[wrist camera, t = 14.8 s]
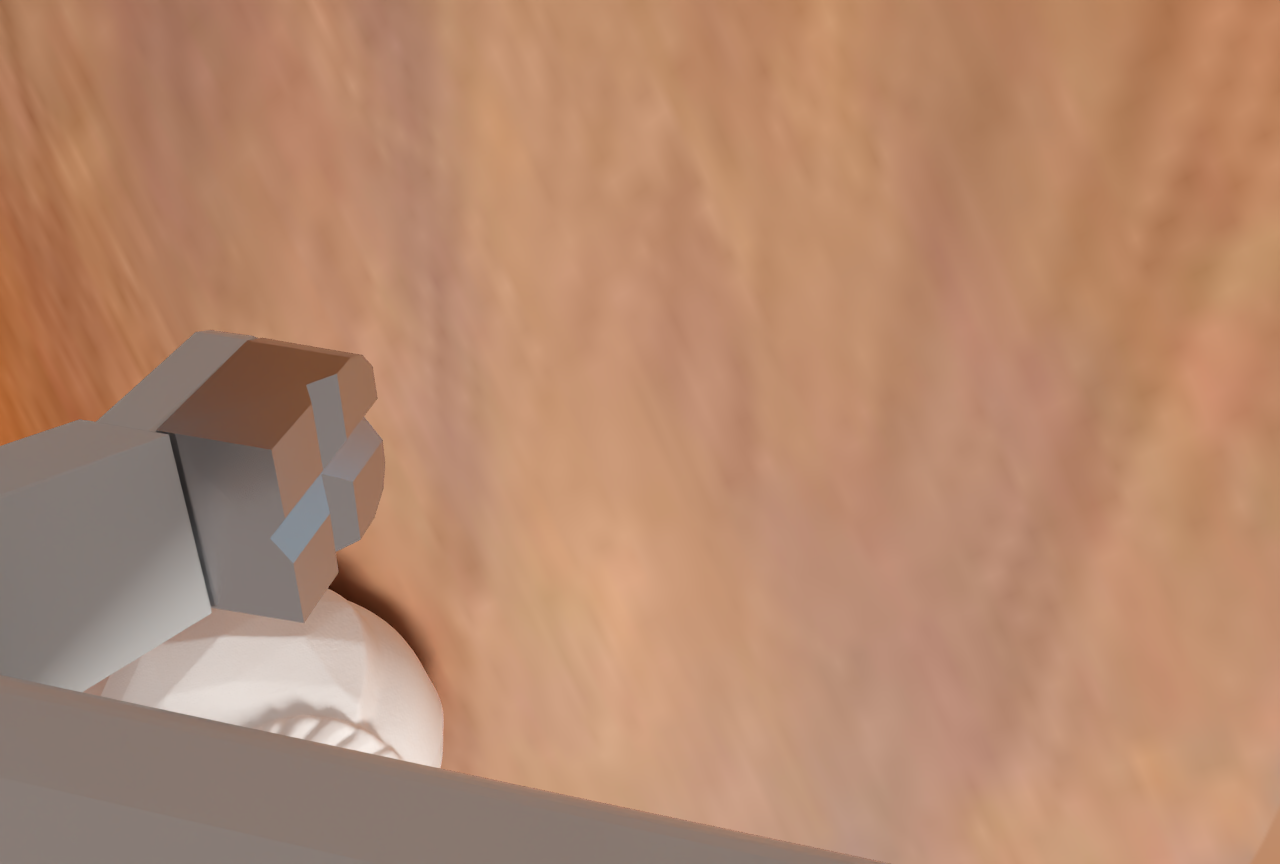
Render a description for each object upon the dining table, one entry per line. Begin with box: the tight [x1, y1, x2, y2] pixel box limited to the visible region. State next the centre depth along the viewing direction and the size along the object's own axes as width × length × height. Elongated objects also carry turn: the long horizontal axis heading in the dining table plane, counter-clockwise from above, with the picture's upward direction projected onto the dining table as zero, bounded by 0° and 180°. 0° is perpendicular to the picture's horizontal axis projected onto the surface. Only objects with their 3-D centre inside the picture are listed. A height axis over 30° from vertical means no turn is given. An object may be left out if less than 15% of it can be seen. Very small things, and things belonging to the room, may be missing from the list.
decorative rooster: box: [83, 589, 444, 768], centre depth 61 cm, size 25×16×25 cm, turn 82°
